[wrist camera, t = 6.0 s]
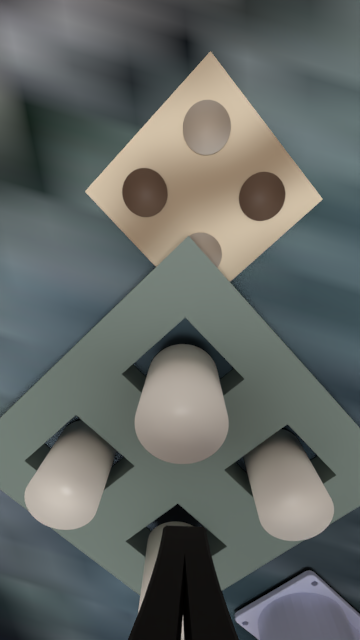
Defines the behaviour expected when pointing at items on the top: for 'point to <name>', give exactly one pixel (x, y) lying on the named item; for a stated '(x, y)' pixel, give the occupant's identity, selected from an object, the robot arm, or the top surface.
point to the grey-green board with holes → (168, 478)
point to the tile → (205, 177)
